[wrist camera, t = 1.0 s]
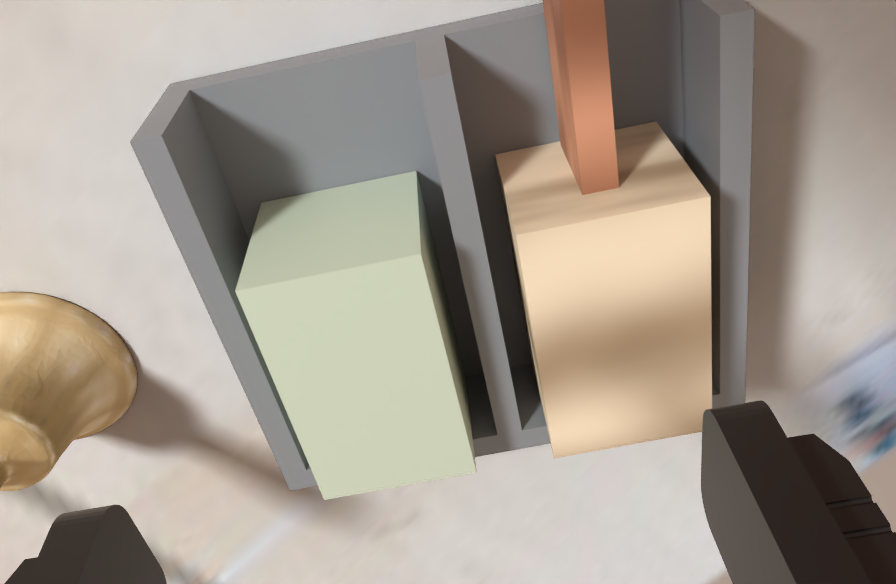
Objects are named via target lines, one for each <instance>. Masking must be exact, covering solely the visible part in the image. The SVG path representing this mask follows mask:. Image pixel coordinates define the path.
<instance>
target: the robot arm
mask: <svg viewBox="0 0 896 584" xmlns="http://www.w3.org/2000/svg"><path fill="white" fill-rule="evenodd" d="M701 492H702V499H703V504H704V509H705V513H706V517H707V520H708V524H709V527H710V529H711V532H712V534H713V537H714V539H715V542H716V544H717V547H718V549H719V551H720V554H721V556H722V559H723V561H724V564H725V566H726V568H727V571H728V573H729V576H730V578H731V580H732V583H733V584H896V533H895V532H894V533H893V532H892V531H891V528H890V524H889V522H888V520H887V519H886V517H885V516H884V514H883V513H882V511H881V510H880V508H879V507H878V505H877V504H876V503H873V501H872V498H871V494H870V493H869V491H868V490H867V488H866V487H865V485H864V483H863V482H862V480H861V479H860V477H859V476H858V474H857V473H856V471H855V469H854V468H853V466H852V465H851V463H850V462H849V461H848V460H847V459H846V458H845V457H843V456H842V455H841V454H839V453H838V452H837V451H835V450H834V449H833V448H832V447H830V446H829V445H828V444H826V443H825V442H824V441H822V440H821V439H820V438H818V437H817V436H816V435H815V434H808V435H802V436H795V437H789V438H787V436H786V435H785V433H784V431H783V430H782V428H781V426H780V424H779V423H778V421H777V419H776V417H775V416H774V414H773V412H772V411H771V409H770V408H769V406H768V405H767V404H766V403H765V402H764V401H755V402H749V403H743V404H737V405H731V406H725V407H719V408H712V409H706V410H705V411H704V414H703V424H702V463H701ZM5 584H166V579H165V575H164V572H163V570H162V568H161V566H160V565H159V563H158V561H157V560H156V558H155V556H154V555H153V553H152V552H151V550H150V548H149V547H148V545H147V543H146V542H145V540H144V538H143V537H142V535H141V534H140V532H139V530H138V529H137V527H136V525H135V524H134V522H133V521H132V519H131V517H130V516H129V514H128V513H127V511H126V510H125V509H124V508H123V507H122V506H120V505H111V506H105V507H99V508H93V509H87V510H81V511H75V512H69V513H63V514H61V515H60V516H58V517H57V518H56V520H55V521H54V522H53V524H52V526H51V528H50V530H49V533H48V535H47V537H46V540H45V542H44V544H43V546H42V549H41V551H40V553H39V556H38V557H37V558H31V559H25V560H24V561H23V562H22V564H21V565H20V566H19V567H18V568H17V569H16V571H15V572H14V573H13V574H12V575H11V577H10V578H9V579H8V580H7V581H6V583H5Z"/></svg>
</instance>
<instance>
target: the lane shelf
mask: <svg viewBox="0 0 896 584" xmlns="http://www.w3.org/2000/svg"><path fill="white" fill-rule="evenodd" d="M604 7H605V20H606V32H607V44H608V57H609V69H610V81H611V93H612V106H613V118H614V130H616V129H621V128H626V127H631V126H636V125H641V124H645V123H650V122H655V121H656V122H657V123H658V125H659V126H660V128H661V129H662V130H663V132H664V133H665V134H666V136H667V137H668V139H669V140H670V141H671V143H672V144H673V145H674V147H675V148H676V150H677V151H678V152H679V154H680V155H681V156H682V158H683V159H684V161H685V162H686V163H687V165H688V166H689V167H690V169H691V170H692V172H693V173H694V174H695V176H696V177H697V178H698V180H699V181H700V183H701V184H702V185H703V187H704V188H705V190H706V191H707V192H708V194H709V195H710V196H711V324H712V408H719V407H725V406H731V405H737V404H743V403H745V387H746V346H747V305H748V264H749V224H750V183H751V142H752V101H753V61H754V20H755V9H754V8H753V7H752V6H750V5H749V4H747V3H746V2H744V1H743V0H604ZM558 141H560V136H559V128H558V120H557V112H556V104H555V96H554V88H553V80H552V72H551V63H550V55H549V47H548V39H547V31H546V23H545V15H544V7H543V3H540V4H535V5H531V6H526V7H522V8H517V9H512V10H508V11H503V12H499V13H494V14H490V15H485V16H480V17H476V18H471V19H467V20H462V21H457V22H453V23H448V24H444V25H439V26H434V27H430V28H425V29H421V30H416V31H411V32H407V33H402V34H398V35H393V36H388V37H384V38H379V39H375V40H370V41H365V42H361V43H356V44H352V45H347V46H342V47H338V48H333V49H329V50H324V51H319V52H315V53H310V54H306V55H301V56H296V57H292V58H287V59H283V60H278V61H273V62H269V63H264V64H260V65H255V66H250V67H246V68H241V69H237V70H232V71H227V72H223V73H218V74H214V75H209V76H204V77H200V78H195V79H191V80H186V81H181V82H177V83H172V84H170V85H169V86H168V88H167V89H166V91H165V92H164V93H163V95H162V96H161V98H160V99H159V101H158V102H157V104H156V105H155V107H154V108H153V109H152V111H151V112H150V114H149V115H148V117H147V118H146V120H145V121H144V123H143V124H142V125H141V127H140V128H139V130H138V131H137V133H136V134H135V136H134V137H133V139H132V140H131V141H130V143H131V145H132V147H133V149H134V152H135V154H136V156H137V158H138V160H139V163H140V165H141V167H142V169H143V171H144V173H145V176H146V178H147V180H148V182H149V184H150V187H151V189H152V191H153V193H154V195H155V197H156V200H157V202H158V204H159V206H160V208H161V210H162V213H163V215H164V217H165V219H166V221H167V224H168V226H169V228H170V230H171V232H172V234H173V237H174V239H175V241H176V243H177V245H178V248H179V250H180V252H181V254H182V256H183V258H184V261H185V263H186V265H187V267H188V269H189V271H190V274H191V276H192V278H193V280H194V282H195V285H196V287H197V289H198V291H199V293H200V295H201V298H202V300H203V302H204V304H205V306H206V309H207V311H208V313H209V315H210V317H211V319H212V322H213V324H214V326H215V328H216V330H217V332H218V335H219V337H220V339H221V341H222V343H223V346H224V348H225V350H226V352H227V354H228V356H229V359H230V361H231V363H232V365H233V367H234V370H235V372H236V374H237V376H238V378H239V380H240V383H241V385H242V387H243V389H244V391H245V393H246V396H247V398H248V400H249V402H250V404H251V407H252V409H253V411H254V413H255V415H256V417H257V420H258V422H259V424H260V426H261V428H262V431H263V433H264V435H265V437H266V439H267V441H268V444H269V446H270V448H271V450H272V452H273V454H274V457H275V459H276V461H277V463H278V465H279V468H280V470H281V472H282V474H283V476H284V478H285V481H286V483H287V485H288V487H289V489H290V491H291V490H297V489H302V488H308V487H313V486H318V484H317V482H316V480H315V477H314V475H313V473H312V470H311V468H310V466H309V463H308V461H307V459H306V456H305V454H304V452H303V449H302V447H301V445H300V442H299V440H298V437H297V435H296V433H295V430H294V428H293V426H292V423H291V421H290V419H289V416H288V414H287V412H286V409H285V407H284V405H283V402H282V400H281V398H280V395H279V393H278V391H277V388H276V386H275V384H274V381H273V379H272V377H271V374H270V372H269V370H268V367H267V365H266V363H265V360H264V358H263V356H262V353H261V351H260V348H259V346H258V344H257V341H256V339H255V337H254V334H253V332H252V330H251V327H250V325H249V323H248V320H247V318H246V316H245V313H244V311H243V309H242V306H241V304H240V302H239V299H238V297H237V295H236V292H235V290H236V286H237V283H238V280H239V276H240V273H241V270H242V266H243V263H244V260H245V256H246V253H247V249H248V246H249V243H250V239H251V236H252V233H253V229H254V226H255V222H256V219H257V216H258V212H259V209H260V206H261V203H262V202H267V201H272V200H277V199H282V198H287V197H291V196H296V195H301V194H306V193H311V192H316V191H321V190H325V189H330V188H335V187H340V186H345V185H350V184H354V183H359V182H364V181H369V180H374V179H379V178H384V177H388V176H393V175H398V174H403V173H408V172H413V171H416V172H417V176H418V180H419V184H420V188H421V192H422V197H423V201H424V205H425V209H426V213H427V217H428V221H429V226H430V230H431V234H432V238H433V242H434V246H435V250H436V255H437V259H438V263H439V267H440V271H441V275H442V279H443V283H444V288H445V292H446V296H447V300H448V304H449V308H450V312H451V317H452V321H453V325H454V329H455V333H456V337H457V341H458V346H459V350H460V354H461V358H462V362H463V366H464V370H465V378H466V386H467V395H468V403H469V412H470V421H471V429H472V438H473V446H474V455H475V457H478V456H483V455H489V454H494V453H500V452H505V451H511V450H516V449H522V448H527V447H533V446H538V445H544V444H549V443H551V442H550V438H549V434H548V429H547V425H546V421H545V416H544V412H543V408H542V403H541V399H540V395H539V390H538V386H537V382H536V377H535V373H534V369H533V364H532V360H531V355H530V349H529V343H528V338H527V332H526V326H525V321H524V315H523V309H522V304H521V298H520V292H519V287H518V281H517V275H516V270H515V264H514V258H513V253H512V247H511V241H510V236H509V230H508V224H507V219H506V213H505V207H504V202H503V196H502V190H501V185H500V179H499V173H498V168H497V162H496V157H495V154H500V153H505V152H510V151H514V150H519V149H524V148H529V147H534V146H539V145H544V144H548V143H553V142H558Z"/></svg>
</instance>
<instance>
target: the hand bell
mask: <svg viewBox="0 0 896 584" xmlns="http://www.w3.org/2000/svg"><path fill="white" fill-rule="evenodd" d="M136 390H137V369H136V366H135V364H134V361H133V357H132V355H131V353H130V351H129V350H128V348H127V346H126V345H125V343H124V342H123V341H122V339H121V338H120V337H119V336H118V334H117V333H116V332H115V331H114V330H113V329H112V328H111V327H109V326H108V325H107V324H106V323H105V322H104V321H102V320H101V319H100V318H98V317H97V316H95V315H94V314H92V313H91V312H89V311H87V310H85V309H83V308H81V307H79V306H77V305H75V304H72V303H70V302H67V301H65V300H62V299H59V298H55V297H52V296H48V295H44V294H36V293H28V292H4V293H0V491H14V490H20V489H23V488H27V487H30V486H32V485H34V484H36V483H38V482H39V481H41V480H42V479H43V478H45V477H46V476H47V475H48V474H49V472H50V471H51V470H52V468H53V467H54V465H55V464H56V462H57V461H58V459H59V457H60V456H61V455H62V453H63V452H64V451H65V450H66V448H67V447H68V446H69V445H70V443H71V442H72V441H73V440H76V439H81V438H85V437H88V436H91V435H93V434H96V433H98V432H100V431H102V430H104V429H106V428H107V427H109V426H111V425H112V424H114V423H115V422H116V421H117V420H119V419H120V418H121V417H122V416H123V415H124V414H125V412H126V411H127V410H128V409H129V407H130V405H131V403H132V401H133V399H134V396H135V393H136Z"/></svg>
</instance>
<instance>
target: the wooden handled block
mask: <svg viewBox="0 0 896 584" xmlns="http://www.w3.org/2000/svg"><path fill="white" fill-rule="evenodd" d="M543 7H544V15H545V23H546V31H547V39H548V47H549V55H550V63H551V72H552V80H553V88H554V96H555V104H556V112H557V120H558V128H559V136H560V141H558V142H553V143H548V144H544V145H539V146H534V147H529V148H524V149H519V150H514V151H510V152H505V153H500V154H495V157H496V162H497V168H498V173H499V179H500V185H501V190H502V196H503V202H504V207H505V213H506V219H507V224H508V230H509V236H510V241H511V247H512V253H513V258H514V264H515V270H516V275H517V281H518V287H519V292H520V298H521V304H522V309H523V315H524V321H525V326H526V332H527V338H528V343H529V349H530V355H531V360H532V364H533V369H534V373H535V377H536V382H537V386H538V390H539V395H540V399H541V403H542V408H543V412H544V416H545V421H546V425H547V429H548V434H549V438H550V442H551V447H552V451H553V455H554V458H559V457H564V456H570V455H575V454H581V453H586V452H592V451H597V450H603V449H608V448H614V447H619V446H625V445H630V444H636V443H641V442H647V441H653V440H658V439H664V438H669V437H675V436H680V435H686V434H691V433H697V432H702V424H703V414H704V411H705V410H706V409H712V324H711V196H710V195H709V194H708V192H707V191H706V190H705V188H704V187H703V185H702V184H701V183H700V181H699V180H698V178H697V177H696V176H695V174H694V173H693V172H692V170H691V169H690V167H689V166H688V165H687V163H686V162H685V161H684V159H683V158H682V156H681V155H680V154H679V152H678V151H677V150H676V148H675V147H674V145H673V144H672V143H671V141H670V140H669V139H668V137H667V136H666V134H665V133H664V132H663V130H662V129H661V128H660V126H659V125H658V123H657V122H656V121H655V122H650V123H645V124H641V125H636V126H631V127H626V128H621V129H616V130H614V118H613V106H612V93H611V81H610V69H609V57H608V44H607V32H606V20H605V7H604V0H543Z"/></svg>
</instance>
